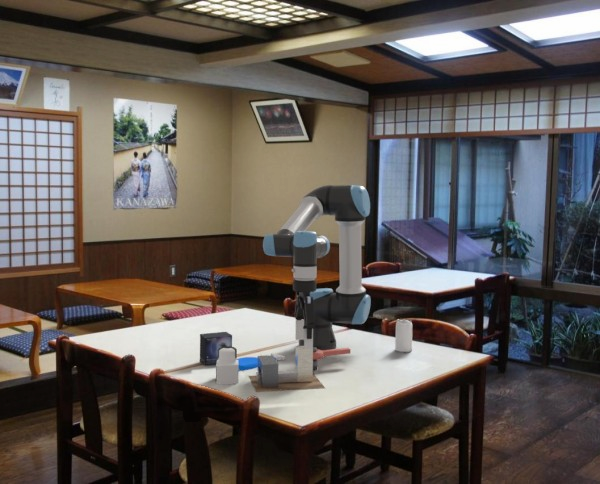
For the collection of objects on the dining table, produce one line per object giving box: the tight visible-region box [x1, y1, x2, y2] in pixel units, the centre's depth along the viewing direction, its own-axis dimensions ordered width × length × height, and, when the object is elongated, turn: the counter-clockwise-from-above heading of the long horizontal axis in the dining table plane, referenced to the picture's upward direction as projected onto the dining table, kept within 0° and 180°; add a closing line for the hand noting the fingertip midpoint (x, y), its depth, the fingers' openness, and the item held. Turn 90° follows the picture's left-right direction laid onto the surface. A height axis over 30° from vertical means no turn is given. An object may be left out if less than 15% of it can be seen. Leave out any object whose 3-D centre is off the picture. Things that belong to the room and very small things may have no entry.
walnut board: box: [248, 372, 326, 393], centre depth 223 cm, size 18×22×1 cm
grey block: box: [257, 354, 279, 388], centre depth 222 cm, size 11×5×8 cm, turn 12°
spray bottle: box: [237, 352, 286, 371], centre depth 248 cm, size 3×11×24 cm
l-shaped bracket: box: [255, 345, 314, 384], centre depth 223 cm, size 4×18×11 cm, turn 102°
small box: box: [199, 331, 233, 366], centre depth 250 cm, size 11×6×10 cm, turn 117°
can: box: [394, 318, 413, 353], centre depth 270 cm, size 6×6×12 cm
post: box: [313, 360, 318, 372], centre depth 238 cm, size 3×3×5 cm
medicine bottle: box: [215, 346, 239, 385], centre depth 224 cm, size 7×7×12 cm
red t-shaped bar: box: [313, 347, 351, 361], centre depth 240 cm, size 18×7×3 cm, turn 113°
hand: (303, 344), depth 223 cm, fingers open, 13 cm apart
